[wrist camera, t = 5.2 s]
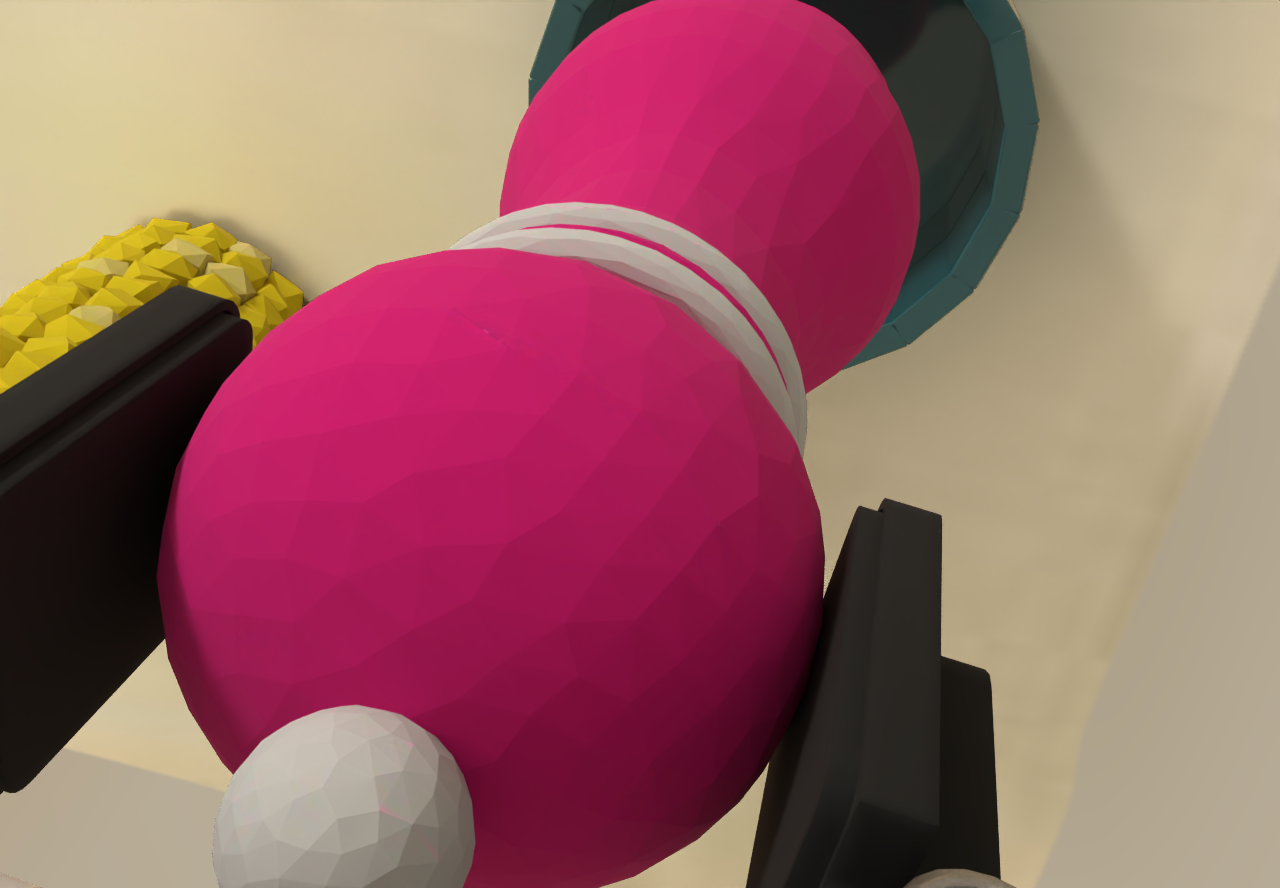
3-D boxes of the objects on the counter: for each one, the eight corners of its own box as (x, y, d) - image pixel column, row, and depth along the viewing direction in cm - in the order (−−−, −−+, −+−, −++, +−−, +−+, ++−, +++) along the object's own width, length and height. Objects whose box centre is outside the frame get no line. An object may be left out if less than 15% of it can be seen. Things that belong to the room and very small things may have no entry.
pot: (641, -193, 33) (573, -198, 27) (1092, -79, 32) (1128, -57, 26) (561, 229, 39) (491, 301, 33) (936, 337, 38) (935, 433, 32)
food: (129, 176, 44) (385, 267, 44) (71, 462, 47) (309, 547, 47) (-193, 209, 29) (191, 345, 29) (-242, 619, 33) (101, 742, 32)
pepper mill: (512, 129, 26) (-376, 791, 8) (765, -123, 22) (144, 130, 5) (730, 371, 27) (358, 1349, 10) (998, 170, 24) (1134, 1130, 7)
